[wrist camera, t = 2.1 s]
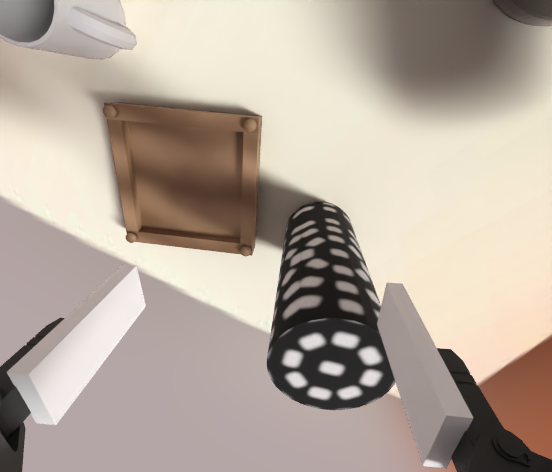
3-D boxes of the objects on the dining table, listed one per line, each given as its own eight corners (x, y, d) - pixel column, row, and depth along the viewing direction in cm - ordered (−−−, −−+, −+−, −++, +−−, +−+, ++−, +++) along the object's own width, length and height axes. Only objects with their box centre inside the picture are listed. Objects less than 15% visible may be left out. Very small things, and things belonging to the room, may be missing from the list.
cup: (60, -48, 26) (-50, -112, 18) (163, 9, 27) (104, -27, 19) (53, 38, 29) (-43, 16, 21) (145, 86, 30) (88, 82, 22)
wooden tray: (118, 102, 31) (100, 103, 28) (262, 116, 30) (257, 118, 28) (138, 232, 38) (125, 243, 36) (254, 246, 37) (251, 257, 35)
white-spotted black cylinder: (279, 252, 38) (255, 393, 20) (295, 194, 34) (284, 303, 16) (339, 267, 38) (369, 421, 20) (362, 211, 34) (424, 338, 16)
